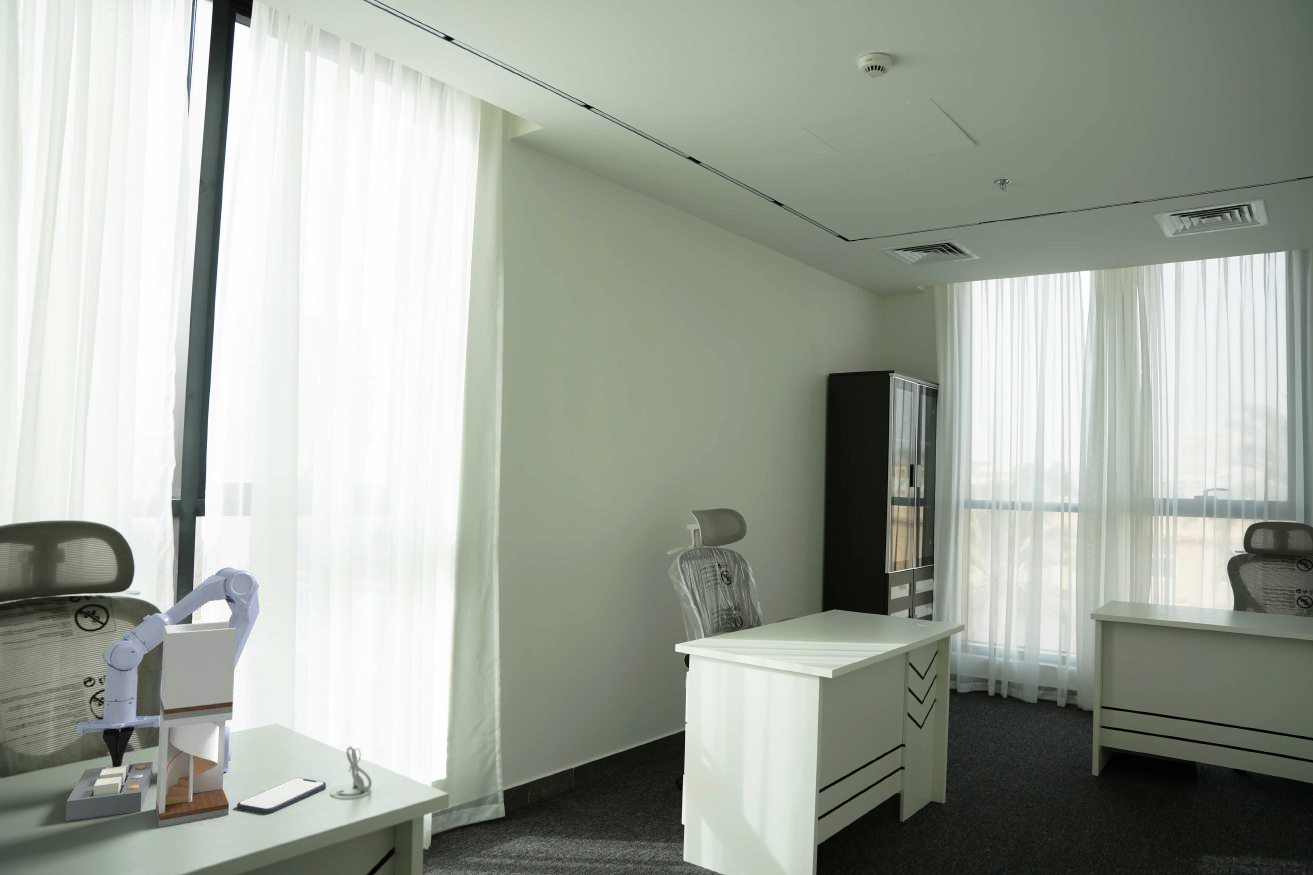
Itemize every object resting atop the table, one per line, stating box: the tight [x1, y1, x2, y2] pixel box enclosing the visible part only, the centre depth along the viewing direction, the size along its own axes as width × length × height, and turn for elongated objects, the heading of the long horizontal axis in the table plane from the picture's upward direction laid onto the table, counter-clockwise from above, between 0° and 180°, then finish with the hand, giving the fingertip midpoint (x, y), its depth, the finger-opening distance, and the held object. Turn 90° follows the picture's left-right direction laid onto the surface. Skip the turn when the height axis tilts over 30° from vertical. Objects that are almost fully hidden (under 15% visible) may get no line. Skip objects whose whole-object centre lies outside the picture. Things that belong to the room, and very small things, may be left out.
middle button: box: [99, 767, 126, 783], centre depth 170 cm, size 4×4×3 cm
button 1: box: [93, 777, 122, 796], centre depth 164 cm, size 4×4×3 cm
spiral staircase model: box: [155, 620, 236, 828], centre depth 164 cm, size 11×11×35 cm
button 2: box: [105, 760, 131, 773], centre depth 176 cm, size 4×4×3 cm
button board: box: [65, 761, 153, 822], centre depth 170 cm, size 12×20×4 cm, turn 25°
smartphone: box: [236, 777, 327, 815], centre depth 171 cm, size 9×2×16 cm
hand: (117, 765), depth 176 cm, fingers closed, pressing on button 2
